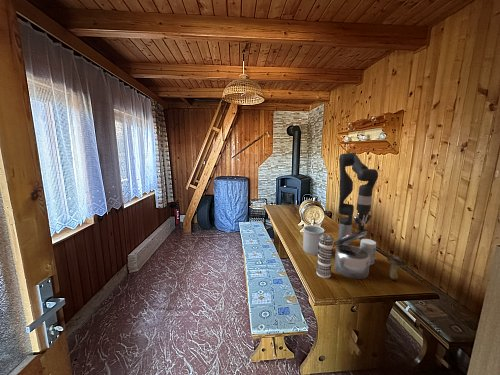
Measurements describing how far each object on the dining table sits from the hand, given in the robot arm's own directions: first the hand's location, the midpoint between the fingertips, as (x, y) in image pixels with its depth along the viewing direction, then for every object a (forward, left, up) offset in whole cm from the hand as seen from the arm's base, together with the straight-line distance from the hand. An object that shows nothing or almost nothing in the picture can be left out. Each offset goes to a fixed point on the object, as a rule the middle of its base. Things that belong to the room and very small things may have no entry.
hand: (360, 230), depth 130 cm
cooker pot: (0, -4, -28) cm, 28 cm away
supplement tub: (-18, -7, -28) cm, 34 cm away
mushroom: (-14, +14, -28) cm, 34 cm away
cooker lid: (0, -6, -8) cm, 10 cm away
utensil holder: (+6, -34, -28) cm, 44 cm away
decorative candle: (+20, -7, -28) cm, 35 cm away
